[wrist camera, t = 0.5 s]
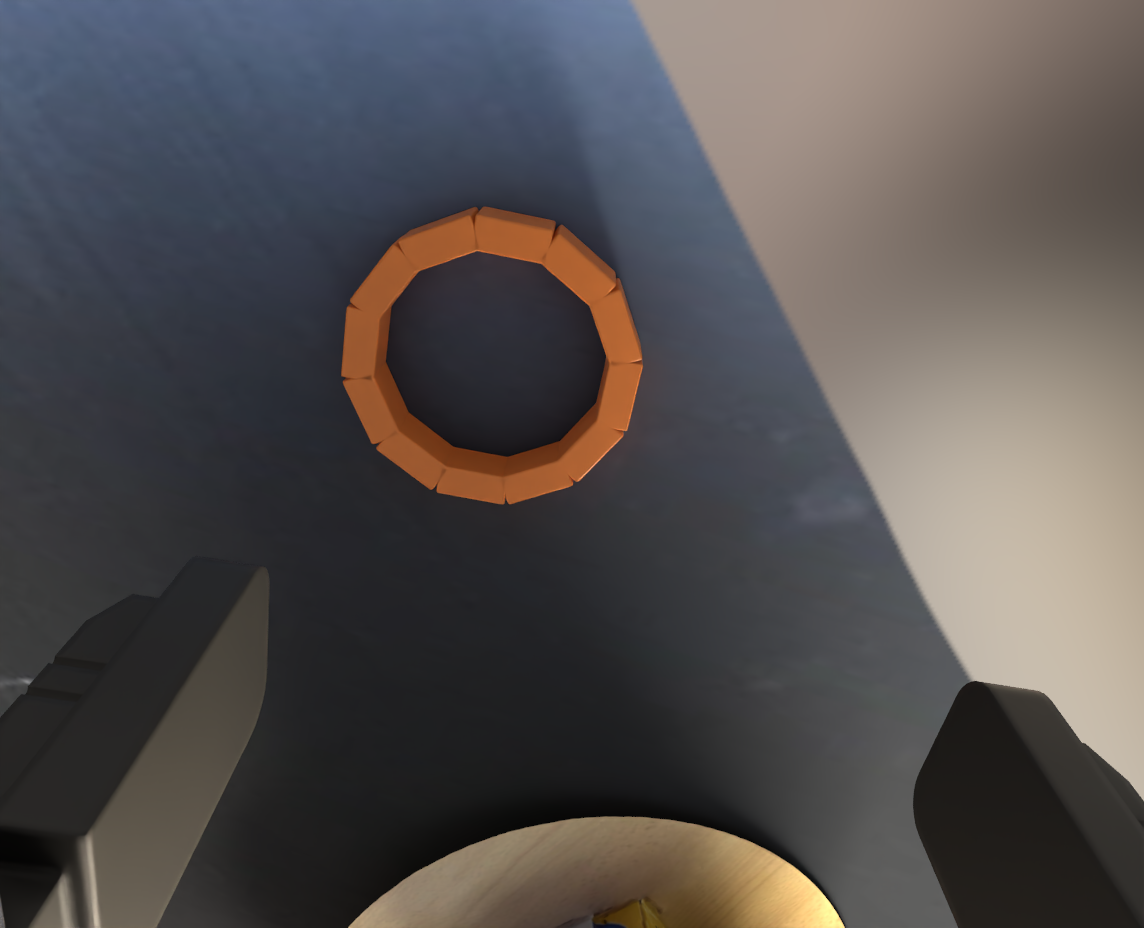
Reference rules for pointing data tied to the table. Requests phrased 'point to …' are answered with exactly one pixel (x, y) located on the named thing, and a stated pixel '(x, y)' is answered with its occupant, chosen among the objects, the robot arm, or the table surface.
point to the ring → (423, 446)
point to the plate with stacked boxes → (606, 882)
